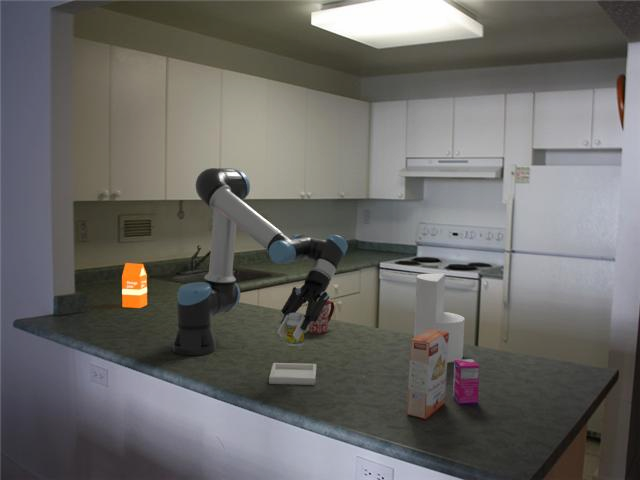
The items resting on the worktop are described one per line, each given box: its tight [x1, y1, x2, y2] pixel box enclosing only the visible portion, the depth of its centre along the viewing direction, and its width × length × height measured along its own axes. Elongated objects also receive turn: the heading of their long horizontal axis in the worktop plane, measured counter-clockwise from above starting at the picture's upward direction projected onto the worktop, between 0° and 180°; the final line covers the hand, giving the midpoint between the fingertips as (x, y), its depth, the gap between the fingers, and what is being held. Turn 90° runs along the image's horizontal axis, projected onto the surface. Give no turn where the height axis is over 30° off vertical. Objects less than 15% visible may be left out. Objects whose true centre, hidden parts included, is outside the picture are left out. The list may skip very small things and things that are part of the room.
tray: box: [268, 362, 317, 386], centre depth 190 cm, size 14×14×2 cm
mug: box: [307, 297, 335, 335], centre depth 245 cm, size 13×9×14 cm
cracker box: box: [406, 329, 449, 420], centre depth 165 cm, size 14×6×21 cm, turn 147°
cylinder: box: [413, 273, 465, 363], centre depth 215 cm, size 17×17×28 cm
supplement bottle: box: [286, 312, 305, 347], centre depth 188 cm, size 5×5×10 cm
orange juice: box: [121, 262, 148, 309], centre depth 283 cm, size 8×9×20 cm
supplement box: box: [452, 358, 480, 406], centre depth 172 cm, size 6×6×12 cm
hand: (287, 336), depth 186 cm, fingers closed on supplement bottle, 5 cm apart
